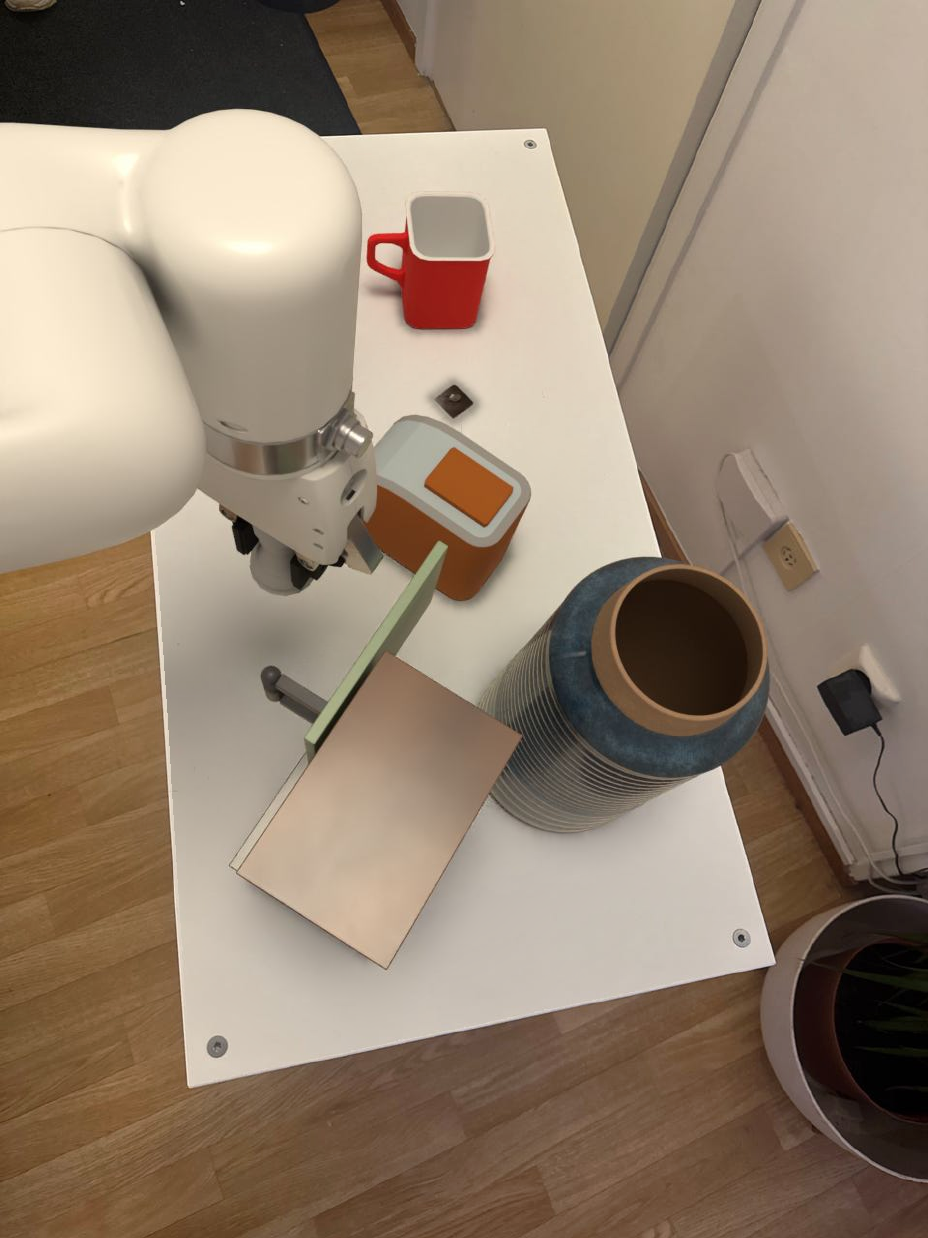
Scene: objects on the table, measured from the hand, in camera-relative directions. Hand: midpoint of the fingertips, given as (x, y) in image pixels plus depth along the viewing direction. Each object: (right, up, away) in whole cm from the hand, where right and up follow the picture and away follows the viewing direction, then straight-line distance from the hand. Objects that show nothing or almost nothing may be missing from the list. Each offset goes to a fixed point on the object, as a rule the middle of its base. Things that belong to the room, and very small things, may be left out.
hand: (282, 552), depth 57 cm
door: (+4, -7, +2) cm, 8 cm away
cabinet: (+2, -23, +19) cm, 30 cm away
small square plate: (+11, +18, +34) cm, 40 cm away
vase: (+20, -16, +24) cm, 35 cm away
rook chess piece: (0, -1, +3) cm, 3 cm away
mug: (+7, +30, +38) cm, 49 cm away
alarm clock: (+8, +4, +29) cm, 31 cm away
